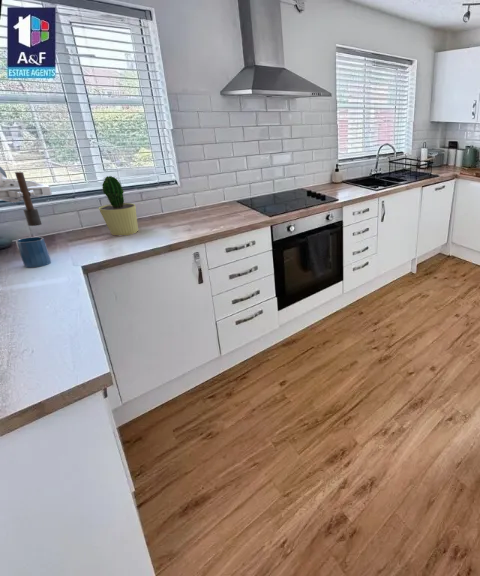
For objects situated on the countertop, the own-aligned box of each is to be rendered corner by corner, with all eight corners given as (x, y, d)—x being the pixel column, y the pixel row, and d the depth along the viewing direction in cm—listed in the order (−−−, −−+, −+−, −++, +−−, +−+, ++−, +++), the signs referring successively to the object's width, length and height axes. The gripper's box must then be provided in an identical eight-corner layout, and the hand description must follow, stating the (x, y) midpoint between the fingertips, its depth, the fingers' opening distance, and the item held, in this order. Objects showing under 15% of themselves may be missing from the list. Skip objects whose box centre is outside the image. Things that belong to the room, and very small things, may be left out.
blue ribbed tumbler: (22, 268, 141) (13, 243, 138) (26, 262, 148) (18, 238, 144) (49, 265, 145) (41, 241, 142) (52, 260, 152) (45, 236, 148)
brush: (27, 226, 143) (10, 172, 136) (29, 224, 146) (12, 171, 139) (40, 225, 145) (24, 172, 138) (42, 223, 149) (27, 171, 141)
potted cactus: (105, 234, 191) (86, 174, 178) (139, 228, 200) (123, 171, 187) (110, 241, 181) (89, 178, 168) (145, 235, 190) (129, 175, 177)
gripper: (-30, 184, 137) (-13, 187, 131) (38, 180, 154) (55, 183, 148) (-24, 201, 139) (-7, 205, 134) (43, 196, 156) (60, 199, 151)
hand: (26, 194), depth 141 cm, fingers closed on brush, 2 cm apart
